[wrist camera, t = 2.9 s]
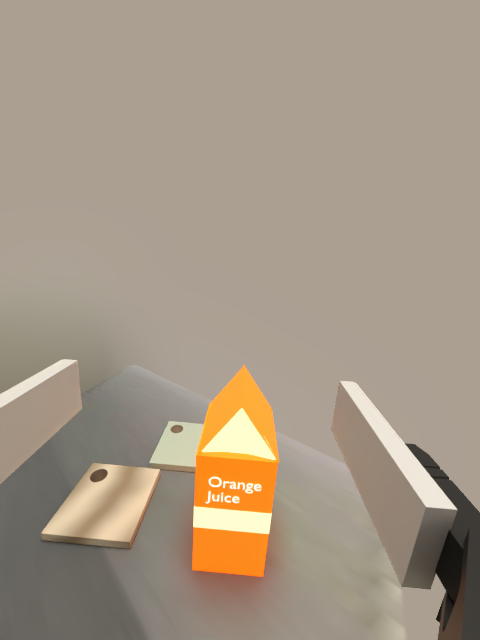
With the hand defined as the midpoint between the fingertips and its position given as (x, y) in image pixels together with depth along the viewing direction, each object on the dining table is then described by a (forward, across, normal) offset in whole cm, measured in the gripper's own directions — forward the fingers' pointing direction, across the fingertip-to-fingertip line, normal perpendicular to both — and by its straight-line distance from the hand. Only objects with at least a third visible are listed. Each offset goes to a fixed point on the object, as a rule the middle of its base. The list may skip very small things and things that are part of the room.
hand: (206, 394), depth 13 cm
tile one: (+15, -14, -26) cm, 33 cm away
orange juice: (+13, +2, -26) cm, 29 cm away
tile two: (+26, -6, -26) cm, 37 cm away
